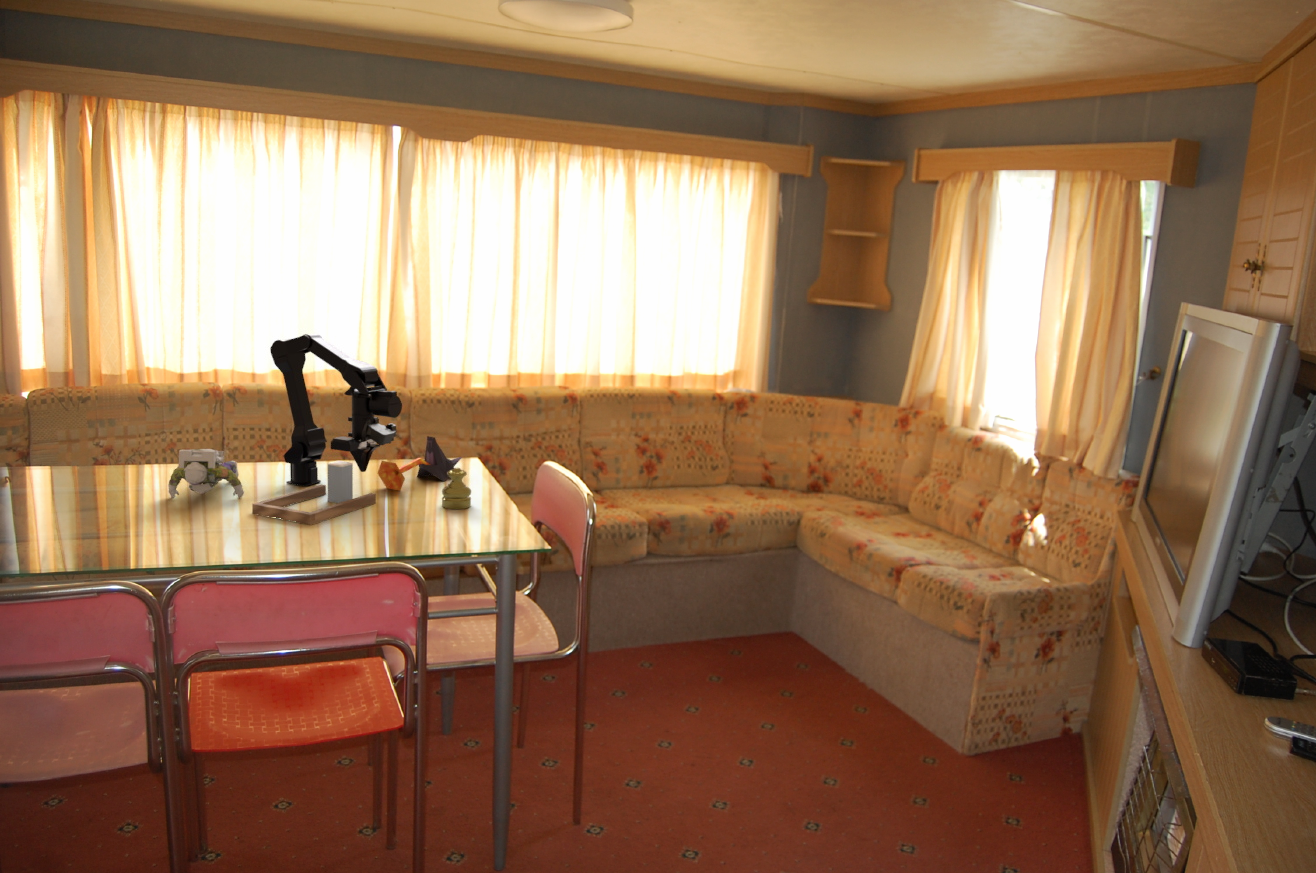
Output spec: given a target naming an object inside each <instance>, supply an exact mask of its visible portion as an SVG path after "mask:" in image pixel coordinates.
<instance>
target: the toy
mask: <svg viewBox="0 0 1316 873" xmlns="http://www.w3.org/2000/svg"><path fill="white" fill-rule="evenodd" d="M224 459H225V456H224V450H217V449H212V448H200V449H180V450H178V466H177V467H176V468H174V469H173V472H172V474H171V476H170V479H169V481H168V485H167V486H168V491H167V492H168V494H169V496H170V497H171V499H175V497H177V496H180V493H179V491H178V490H177V488H178V485H179V484H180V483H181V481H182V479H184V480H185V482H187V483H188V484H189V485H188V488H189V489H190V491H193V492H195V493H198V494H200V495H202V494H206V493H207V492H210V491H211V490H214V489H215V486H216V485H218V482H221V481H223V480H226V482H228V483H229V484H230V485H231V487H233V490H234V491H233V493H232V494H233V496H235V495H237V497H238V499H239V500H240V498H242V497H243V496H244V493H245V491H244V488H243V485H242V482H241V480H240V479H239V470H238V462H237V461H235V460H231V461H230V460H229V461H225V462H224ZM176 495H177V496H176Z"/></svg>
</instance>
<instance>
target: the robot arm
mask: <svg viewBox="0 0 1316 873" xmlns="http://www.w3.org/2000/svg"><path fill="white" fill-rule="evenodd" d="M308 353H312V355H314V356H315V357H317V358H319V359H320V360H322V361H323V362H324V363H326V364H327V365H329V366H330V367H332V368H334V369H335V370H336V371H338V373H339V374H340V376H341V378H342V379H343V381H344V382H346V383H347V384H348V385H349V388H348V389H347V390H345V391H344V395H345V396H351V416H348V417H347V420H348V422H351V431H350V432H347V433H348V434H347V436H338V437H334V438H332V439H331V441H330V450H334V451H342V452H350V454H351V456H352V458H353V459H354V461H355V463H356V465H357V467H358V469H359V471H360V472H362V473H364V472H366V471H367V469H368V466H369V463H370V460H371V457H372V455H373V452H374V451H375V450H376V449H378V448H380V447H381V446H385V445H386V444H388V445H389V444H392V442H393V441H395V438H396V437H397V435H398V434H397V432H398V431H397V425H396V424H395V423H392V422H391V423H388V424H380V419H379V417H385V418H386V417H387V418H395V419H396V418H397V417H399V416H400V415H401V413H402V410H403V403H402V401H401V400H402V399H401V398H400V396H398V391H397V390H388V389H387V387H386V384H384V381H382V379H381V376H380V374H379V372H378V369H377V368H376V367H375V366H374V365H372V364H370V363H367V362H365V361H362V360H358V359H355V358H353V357H350V356H349V355H348V354H346V352H345V353H344V352H343V351H342V350H340V349H339V348H338V347H336V346H334V345H333V344H332V343H330V342H329V341H327V340H325V339H324V338H323V337H322V336H321V335H320V334H318V333H305V334H302V335H301V336H297V337H294V338H288V339H277V340H274V342H273V343H272V345H271V346H270V355H271V358H272V361H273V364H274V365H275V367H276V368H277V369H278V370H279V371H280V372H281V373H282V376H283V380H284V386H285V389H286V393H287V398H288V403H289V408H290V411H291V416H292V420H293V424H294V425H293V429H292V434H291V437H290V441H291V446H290V448H289V449H287V451H286V452H285V453H284V454H283V458H284V462H285V463H286V464H290V465H289V466H290V467H289V471H290V480H288V481H285V482H286V484H287V485H294V486H299V487H308V486H312V485H316V484H319V483H321V482H322V481H321V479H319V478H318V474H319V471H318V467H317V461H319V460H321V459H322V456H323V454H324V452H325V450H326V447H327V446H326V443H327V442H328V440H327V438H326V435H325V429H324V428H323V427H318V426H317V425H316V423H315V422H314V417H313V413H312V408H311V404H310V399H309V395H308V390H307V387H306V382H305V376H304V372H303V369H304V367H305V363H306V359H307V358H306V354H308ZM378 416H379V417H378ZM315 483H316V484H315Z"/></svg>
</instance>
